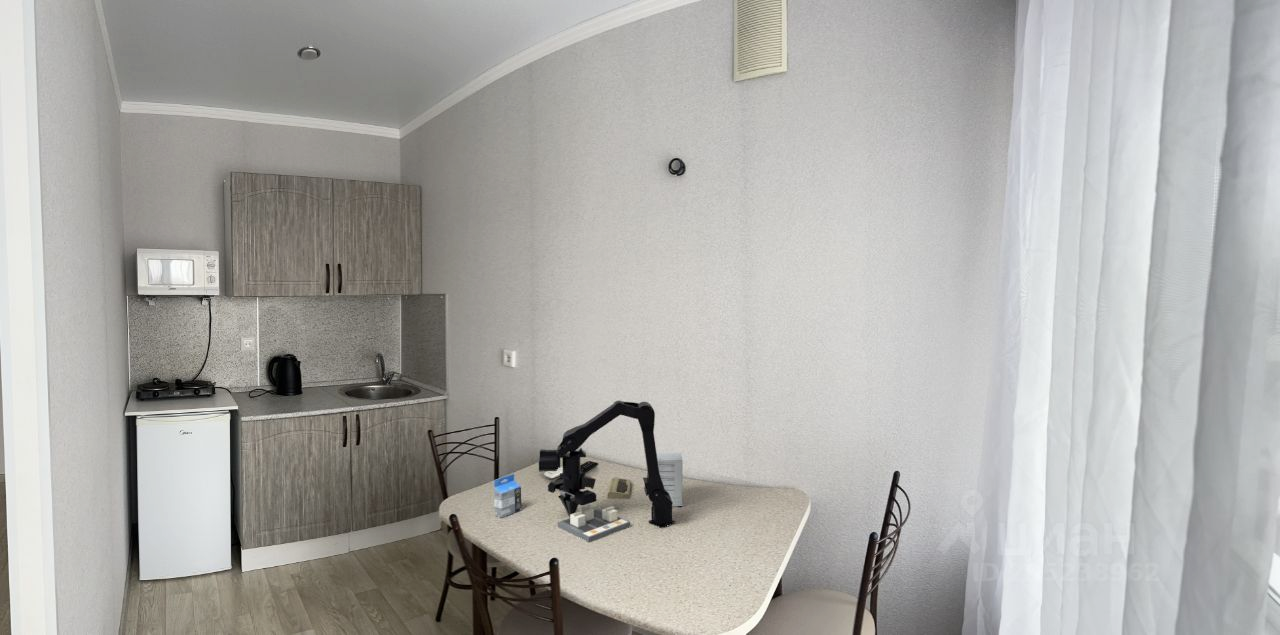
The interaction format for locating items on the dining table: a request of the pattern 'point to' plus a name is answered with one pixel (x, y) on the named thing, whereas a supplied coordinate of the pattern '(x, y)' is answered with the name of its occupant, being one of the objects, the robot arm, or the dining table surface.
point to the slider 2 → (609, 514)
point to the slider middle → (587, 512)
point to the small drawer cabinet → (671, 475)
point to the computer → (619, 488)
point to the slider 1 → (578, 519)
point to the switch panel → (594, 527)
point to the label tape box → (507, 496)
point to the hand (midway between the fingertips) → (572, 517)
